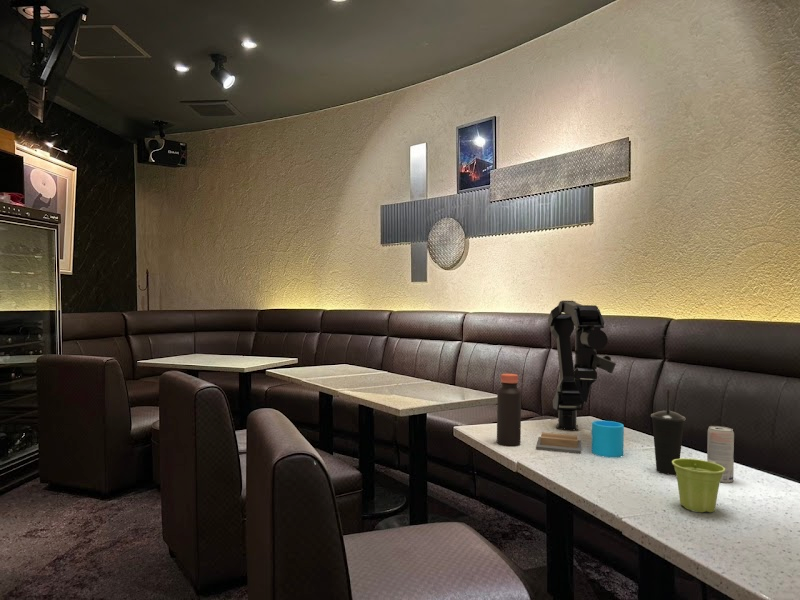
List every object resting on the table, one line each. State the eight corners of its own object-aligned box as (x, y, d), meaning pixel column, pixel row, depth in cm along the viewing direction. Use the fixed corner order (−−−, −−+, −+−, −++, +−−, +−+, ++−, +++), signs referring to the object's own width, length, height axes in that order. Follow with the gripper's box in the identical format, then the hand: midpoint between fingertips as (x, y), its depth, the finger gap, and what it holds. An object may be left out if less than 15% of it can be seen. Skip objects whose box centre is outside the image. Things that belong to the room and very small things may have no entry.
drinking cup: (653, 475, 130) (654, 391, 130) (647, 465, 137) (648, 387, 137) (688, 477, 128) (689, 393, 128) (680, 468, 135) (681, 388, 135)
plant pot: (677, 495, 116) (677, 455, 116) (728, 507, 110) (728, 464, 110) (666, 508, 108) (666, 465, 109) (720, 520, 102) (720, 475, 103)
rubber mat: (538, 439, 162) (538, 436, 162) (580, 443, 159) (580, 440, 159) (535, 449, 151) (535, 446, 151) (581, 453, 147) (581, 450, 147)
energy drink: (729, 477, 129) (729, 426, 129) (736, 484, 124) (737, 431, 124) (704, 474, 131) (704, 425, 131) (710, 481, 125) (711, 430, 125)
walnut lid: (541, 439, 160) (542, 432, 160) (577, 442, 156) (577, 435, 156) (540, 444, 153) (540, 437, 153) (577, 448, 150) (577, 440, 150)
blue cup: (629, 457, 145) (630, 426, 145) (601, 458, 144) (602, 427, 144) (605, 445, 157) (605, 417, 157) (579, 446, 155) (579, 417, 155)
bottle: (492, 442, 158) (493, 374, 158) (506, 439, 162) (507, 372, 162) (511, 447, 152) (512, 376, 153) (525, 443, 157) (526, 375, 157)
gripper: (616, 350, 150) (615, 406, 150) (612, 345, 168) (611, 396, 168) (574, 348, 153) (573, 403, 153) (574, 344, 171) (573, 393, 171)
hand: (584, 399), depth 161 cm, fingers open, 9 cm apart
